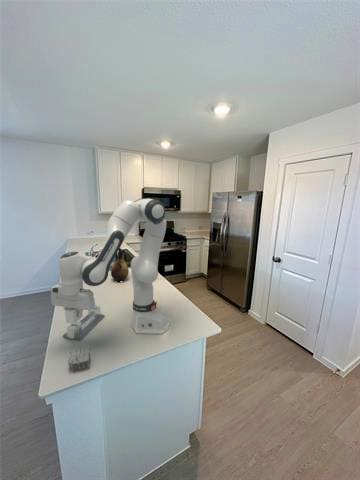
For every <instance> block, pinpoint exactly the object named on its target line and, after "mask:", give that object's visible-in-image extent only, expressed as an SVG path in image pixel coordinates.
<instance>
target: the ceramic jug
mask: <svg viewBox="0 0 360 480" xmlns="http://www.w3.org/2000/svg"><path fill="white" fill-rule="evenodd" d="M126 254H127V251H126V250H125V249H121V247H120V248H119V250H118V252H117V254H116V256H115V258H114V260H115V261H114V263H113V264H112V266H111V270H110V276H111V277H112V279H113V281H114V280H115V281H124V280H125V281H126V279H127V277H128V276H129V273H130V272H129V267H128V264H127V262H126V261H125V259H124V258H123V256H124V255H126ZM115 281H114V282H115ZM125 281H124V282H125Z"/></svg>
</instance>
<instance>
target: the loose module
mask: <svg viewBox="0 0 360 480" xmlns="http://www.w3.org/2000/svg"><path fill="white" fill-rule="evenodd" d="M78 312H79V310H78V309H75V308H68V309H67V310H66V311H65V310H64V313H65V323H66V324H70V325H71V324H75V323H76V322H79V320H82V319H83V318H84V316H83V314H84V313H83V312H82V316H81V317H77V313H78Z"/></svg>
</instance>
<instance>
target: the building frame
mask: <svg viewBox="0 0 360 480" xmlns="http://www.w3.org/2000/svg"><path fill="white" fill-rule="evenodd" d="M90 349H91V348H90V347H89V348H88V350H87V351H86V348H84V351H83V352H82V351H81V349H79V352H78V351H77V349H76V353H72V351H70V353H69V354H70V355H69V356H68V357H69V358H68V373H69V372H70V371H71V370H70V369H72V373H73V372H74V371H75V372H76V371H77V366H78V371H81V365H82V364H81V363H83V365H82V367H83V369H85V365H86V362H88V366H87V367H88V370H89V369H91V368H90V367H91V365H90V361H91V351H90ZM72 365H74V366H72ZM71 366H72V367H71Z"/></svg>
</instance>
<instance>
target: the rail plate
mask: <svg viewBox="0 0 360 480" xmlns="http://www.w3.org/2000/svg"><path fill="white" fill-rule="evenodd" d="M101 311H102V310H101V306H100V305H95V306H94V307H93V308H92V309H91V310H87V312H88V314H86V315H85V316H83V317H82V318H81V319H80V321H77V322H76V323H75V324H70V325H69V326H67V327H66V332H65V333H64V334H63V335H62V338H64V339H69V340H76V341H82V340H83V338H85V336H86V335H88V334H89V333H90V332H91V331H92V330H93V329H94V328H95V327H96V326H97V325H98V324H99V323H100V322H101V321H103V319H104V318H105V317H106V316H105V314H101V313H102V312H101Z"/></svg>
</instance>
